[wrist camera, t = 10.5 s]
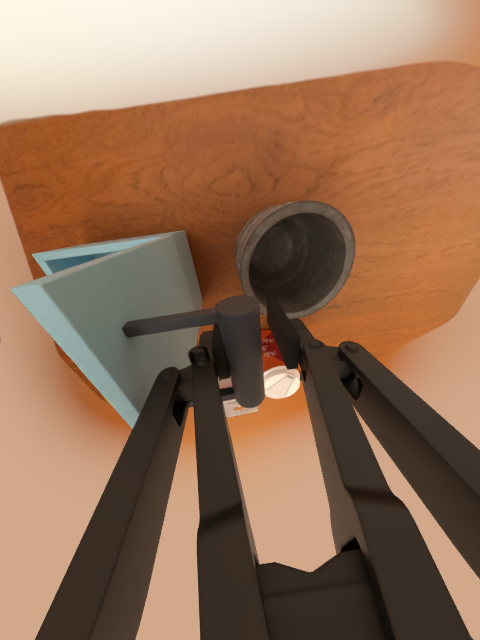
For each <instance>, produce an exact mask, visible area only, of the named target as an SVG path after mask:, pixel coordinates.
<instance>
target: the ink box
mask: <svg viewBox="0 0 480 640" xmlns="http://www.w3.org/2000/svg"><path fill="white" fill-rule="evenodd" d="M218 383H219V387H220V389H221V388H227V387H232V382H231V378H227V379H220V380H219V377H218ZM223 405H224V409H225V414H226V418H227V417H232V416H237V415H242V414H246V413H250V412H254V411H258V409H259V408H258V406H257V407H254V408H243V409H242V410H240V411H239V410H234V408H236V407H240V405H239V404H238V403H237V401H236V400H235V399H233V400H227V401H223Z"/></svg>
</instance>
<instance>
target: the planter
mask: <svg viewBox="0 0 480 640" xmlns="http://www.w3.org/2000/svg"><path fill="white" fill-rule="evenodd" d="M354 257H355V238H354V234H353V231H352V228H351V226H350V224H349V222H348V220H347V219H346V218H345V216H344V215H343V214H342V213H341V212H340V211H338V210H337V209H336V208H334V207H332V206H330V205H328V204H325V203H322V202H317V201H298V202H287V203H284V204H281V205H277V206H272V207H269V208H266V209H264V210H262V211H260V212H258V213H256V214H255V215H254V216H252V217H251V218H250V219H249V220H248V221H247V223H246V224H245V225H244V227H243V228H242V230H241V231H240V233H239V236H238V238H237V242H236V246H235V263H236V268H237V271H238V275H239V278H240V281H241V285H242V288H243V291H244V293H245V295H246V296H251V297H254V298H255V299H257V300H258V302H259V311H260V312H261V313H262V314H264V315H266V316H267V307H266V297H269V296H274V297H275V298H276V300H277V301H278V303H279V304H280V306H281V308H282V309H283V311H284V312H285V314H286V316H287V317H288V319H295V318H301V317H305V316H308V315H310V314H312V313H314V312H316V311H318V310H319V309H321V308H322V307H324V306H325V305H327V304H328V303H329V302H330V301H331V300H332V299H333V298H334V297H335V296H336V295H337V294H338V293H339V291H340V290H341V289H342V287H343V286H344V284H345V282H346V280H347V279H348V277H349V274H350V272H351V269H352V266H353V262H354Z"/></svg>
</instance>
